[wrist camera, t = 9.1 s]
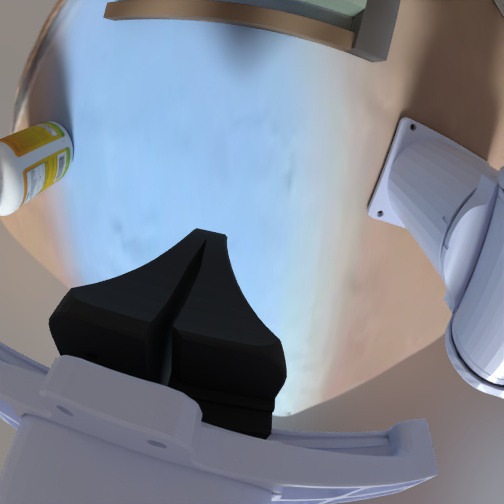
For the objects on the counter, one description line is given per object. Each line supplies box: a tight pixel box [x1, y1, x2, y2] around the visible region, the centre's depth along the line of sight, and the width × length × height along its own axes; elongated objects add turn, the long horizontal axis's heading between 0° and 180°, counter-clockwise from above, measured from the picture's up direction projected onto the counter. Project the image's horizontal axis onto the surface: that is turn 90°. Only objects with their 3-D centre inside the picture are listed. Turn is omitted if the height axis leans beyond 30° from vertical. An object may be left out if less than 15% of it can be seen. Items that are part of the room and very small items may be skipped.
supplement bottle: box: [0, 121, 73, 216], centre depth 15 cm, size 5×5×10 cm
